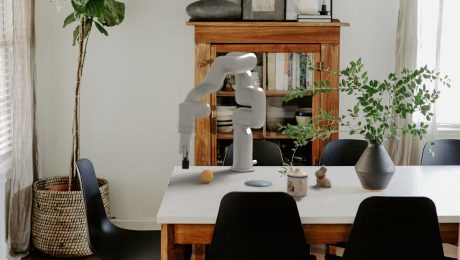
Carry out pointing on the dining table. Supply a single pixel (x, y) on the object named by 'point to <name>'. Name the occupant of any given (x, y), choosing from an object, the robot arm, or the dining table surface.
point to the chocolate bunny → (322, 177)
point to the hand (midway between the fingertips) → (185, 168)
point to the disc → (258, 183)
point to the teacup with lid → (297, 182)
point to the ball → (206, 176)
